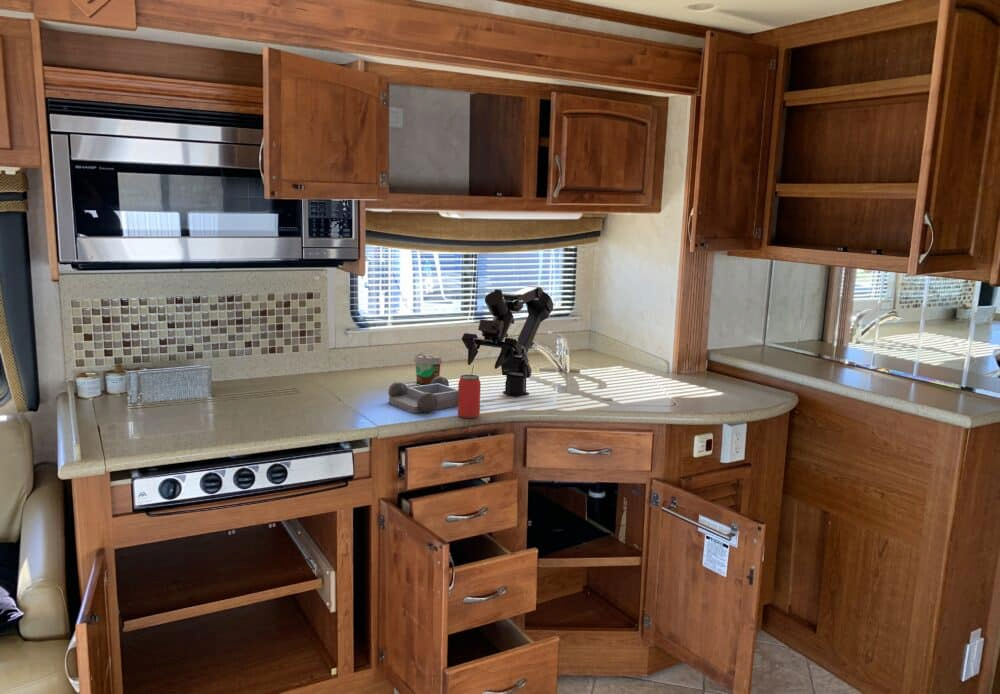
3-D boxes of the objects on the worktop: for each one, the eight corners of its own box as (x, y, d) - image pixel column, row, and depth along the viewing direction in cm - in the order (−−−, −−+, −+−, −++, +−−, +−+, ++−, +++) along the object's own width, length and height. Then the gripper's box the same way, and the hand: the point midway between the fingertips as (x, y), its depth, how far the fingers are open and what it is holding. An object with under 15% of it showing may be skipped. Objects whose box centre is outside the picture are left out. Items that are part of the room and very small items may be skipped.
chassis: (447, 392, 262) (447, 374, 261) (481, 403, 248) (481, 385, 247) (385, 402, 246) (385, 383, 245) (418, 415, 233) (418, 395, 232)
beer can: (458, 419, 230) (459, 379, 228) (456, 413, 236) (457, 374, 234) (481, 418, 231) (482, 378, 229) (478, 412, 238) (479, 374, 235)
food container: (406, 381, 275) (406, 353, 273) (420, 379, 279) (421, 352, 277) (426, 388, 266) (426, 359, 264) (441, 386, 269) (441, 358, 268)
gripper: (465, 306, 244) (446, 346, 236) (519, 312, 236) (501, 353, 228) (476, 329, 252) (458, 368, 245) (529, 335, 244) (512, 375, 236)
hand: (481, 366), depth 238 cm, fingers open, 9 cm apart
